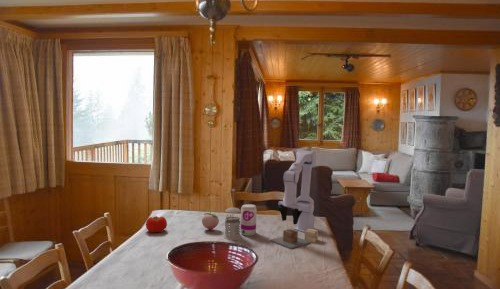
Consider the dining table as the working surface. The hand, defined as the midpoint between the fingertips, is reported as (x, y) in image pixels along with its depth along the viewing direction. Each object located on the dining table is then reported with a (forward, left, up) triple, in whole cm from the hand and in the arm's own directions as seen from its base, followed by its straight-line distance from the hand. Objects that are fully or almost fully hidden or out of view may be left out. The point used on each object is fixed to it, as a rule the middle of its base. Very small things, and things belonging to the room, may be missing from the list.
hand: (289, 222), depth 186 cm
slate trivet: (0, +1, -10) cm, 10 cm away
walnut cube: (0, +1, -9) cm, 9 cm away
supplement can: (+8, -22, -10) cm, 25 cm away
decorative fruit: (+21, -39, -10) cm, 45 cm away
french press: (+19, -22, -10) cm, 31 cm away
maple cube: (-11, +5, -10) cm, 16 cm away
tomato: (+45, -54, -10) cm, 71 cm away
